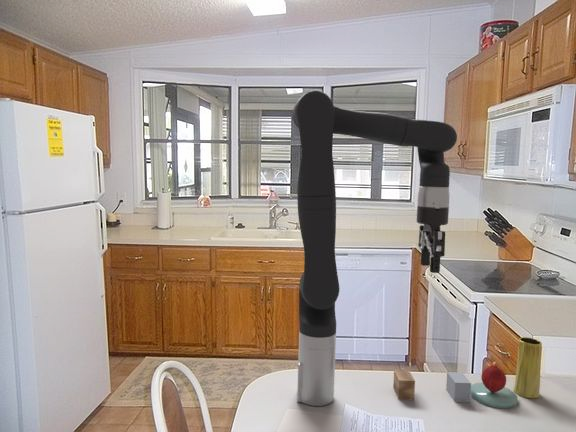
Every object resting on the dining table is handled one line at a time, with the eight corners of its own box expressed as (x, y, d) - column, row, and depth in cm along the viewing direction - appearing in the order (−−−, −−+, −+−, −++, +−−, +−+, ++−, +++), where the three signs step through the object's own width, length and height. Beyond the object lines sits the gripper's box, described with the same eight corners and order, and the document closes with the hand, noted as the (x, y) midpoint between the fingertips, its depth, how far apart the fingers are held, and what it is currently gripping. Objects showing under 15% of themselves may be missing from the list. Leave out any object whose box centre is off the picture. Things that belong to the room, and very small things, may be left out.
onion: (508, 399, 109) (510, 368, 109) (483, 396, 110) (485, 366, 110) (501, 388, 115) (503, 359, 114) (478, 386, 116) (480, 356, 115)
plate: (479, 407, 108) (480, 402, 107) (463, 386, 119) (463, 381, 118) (525, 409, 107) (525, 404, 107) (504, 387, 118) (505, 383, 118)
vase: (514, 395, 114) (518, 342, 113) (512, 385, 119) (516, 335, 118) (541, 400, 112) (545, 346, 110) (537, 390, 117) (541, 338, 116)
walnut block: (398, 399, 111) (399, 380, 110) (393, 387, 117) (394, 369, 116) (414, 399, 111) (415, 380, 110) (408, 388, 117) (409, 370, 116)
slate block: (453, 401, 110) (455, 382, 110) (446, 390, 116) (447, 372, 116) (469, 402, 110) (471, 383, 110) (461, 390, 116) (462, 372, 116)
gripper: (410, 203, 116) (407, 262, 118) (425, 206, 102) (422, 274, 104) (439, 203, 116) (436, 263, 118) (458, 207, 102) (454, 275, 103)
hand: (429, 268), depth 111 cm, fingers open, 8 cm apart
